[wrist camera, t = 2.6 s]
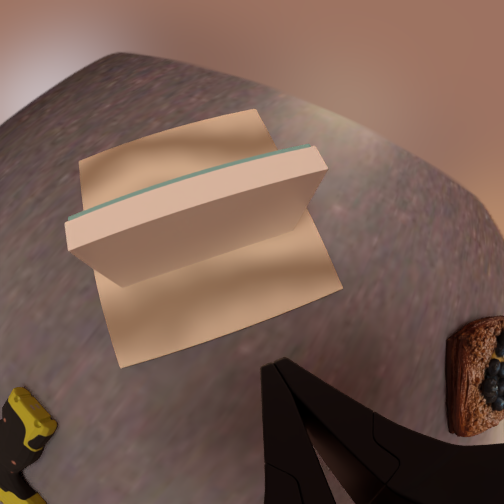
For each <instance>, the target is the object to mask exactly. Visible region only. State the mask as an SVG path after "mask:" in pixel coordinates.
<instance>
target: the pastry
mask: <svg viewBox="0 0 504 504" xmlns="http://www.w3.org/2000/svg"><path fill="white" fill-rule="evenodd" d="M446 343H447V348H446V380H447V398H446V404H447V406H448V410H447V412H448V425H449V432H450V433H455V434H456V435H457V436H462V437H471V436H475V435H478V434H480V433H482V432H484V431H486V430H487V429H489V428H491V427H494V426H497V425H498V423H499V421H501V420H502V419H503V418H504V316H502V315H501V316H494V317H486V318H482V319H478V320H475V321H473V322H471V323H469V324H468V325H466V326H464V327H463V328H462V329H461V330H460V331H458V332H457V333H456V334H454V335H453V336H451V337H450V338H448V339H447V341H446Z"/></svg>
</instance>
